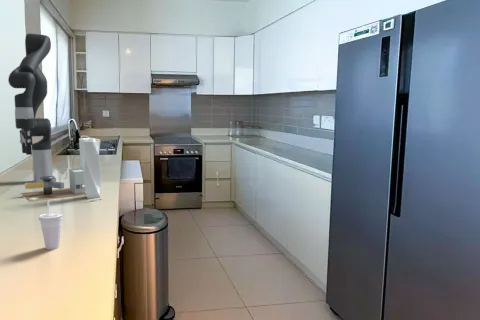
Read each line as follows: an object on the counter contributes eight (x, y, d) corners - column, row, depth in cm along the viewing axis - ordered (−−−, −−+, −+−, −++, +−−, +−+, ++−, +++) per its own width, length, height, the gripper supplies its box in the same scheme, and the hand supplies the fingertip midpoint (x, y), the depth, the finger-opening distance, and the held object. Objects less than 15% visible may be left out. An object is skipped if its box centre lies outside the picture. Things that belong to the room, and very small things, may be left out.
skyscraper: (85, 202, 186) (82, 136, 182) (82, 198, 192) (79, 134, 188) (104, 200, 189) (101, 135, 185) (101, 196, 196) (98, 134, 192)
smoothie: (45, 244, 131) (42, 198, 129) (67, 243, 132) (64, 198, 130) (37, 251, 125) (34, 203, 123) (60, 250, 125) (57, 203, 124)
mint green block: (33, 198, 187) (33, 197, 187) (38, 198, 186) (38, 197, 186) (28, 199, 184) (28, 199, 184) (33, 200, 183) (33, 199, 183)
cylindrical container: (100, 190, 209) (98, 138, 206) (89, 193, 203) (87, 139, 199) (89, 189, 212) (87, 137, 209) (78, 192, 206) (75, 139, 202)
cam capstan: (22, 192, 197) (21, 176, 196) (56, 189, 205) (55, 173, 204) (29, 199, 183) (28, 182, 182) (65, 195, 192) (64, 178, 191)
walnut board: (21, 195, 198) (20, 192, 198) (75, 189, 211) (75, 187, 211) (29, 204, 181) (29, 201, 181) (88, 197, 194) (88, 194, 194)
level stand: (70, 190, 203) (69, 169, 202) (79, 189, 206) (78, 168, 204) (76, 194, 195) (75, 172, 194) (86, 193, 197) (85, 171, 196)
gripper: (12, 117, 199) (14, 153, 201) (18, 118, 187) (20, 155, 189) (30, 117, 203) (32, 152, 205) (37, 117, 192) (39, 154, 194)
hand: (26, 153), depth 197 cm, fingers open, 8 cm apart
